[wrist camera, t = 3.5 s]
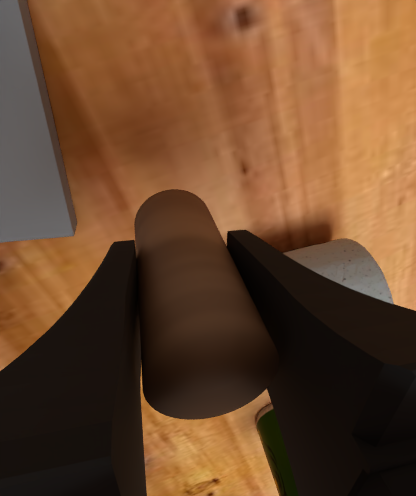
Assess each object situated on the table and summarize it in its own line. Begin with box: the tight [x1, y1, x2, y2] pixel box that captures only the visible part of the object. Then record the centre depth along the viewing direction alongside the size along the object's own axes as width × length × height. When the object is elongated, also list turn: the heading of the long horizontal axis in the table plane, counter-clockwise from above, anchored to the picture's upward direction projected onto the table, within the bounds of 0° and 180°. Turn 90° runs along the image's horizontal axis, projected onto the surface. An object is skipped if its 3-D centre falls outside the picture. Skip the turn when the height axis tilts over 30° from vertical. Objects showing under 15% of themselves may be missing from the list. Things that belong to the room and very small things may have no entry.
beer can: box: [256, 403, 299, 496], centre depth 31 cm, size 5×5×12 cm
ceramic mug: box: [283, 239, 393, 304], centre depth 22 cm, size 11×8×8 cm
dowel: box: [135, 189, 279, 419], centre depth 10 cm, size 3×3×7 cm
